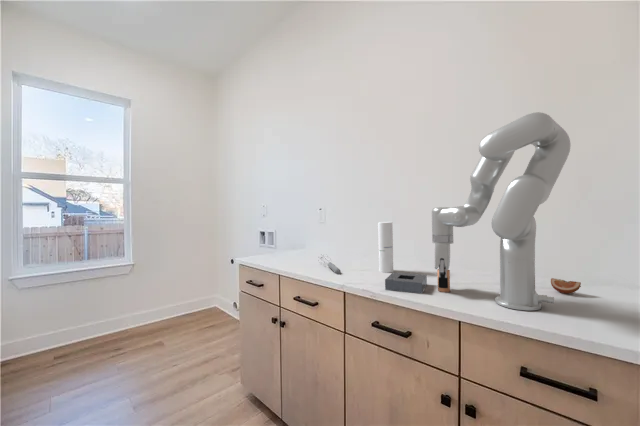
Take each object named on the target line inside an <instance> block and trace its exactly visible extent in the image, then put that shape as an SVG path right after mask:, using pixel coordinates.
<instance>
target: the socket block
mask: <svg viewBox="0 0 640 426" xmlns="http://www.w3.org/2000/svg"><path fill="white" fill-rule="evenodd" d="M427 280H428V279H427V274H421V273H409V272H396V271H395V272H394V271H393V272H391V273H390V275H389V276H387V277H386V278H385V279H384V287H385V288H384V290H385V291H395V292H403V293H404V292H405V293H412V294H413V293H415V294H423V292H424V291H425V288H426V287H427V284H428V281H427Z"/></svg>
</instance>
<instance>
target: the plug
mask: <svg viewBox="0 0 640 426" xmlns="http://www.w3.org/2000/svg"><path fill="white" fill-rule="evenodd" d="M436 270H437V273H436V274H437V291H438V292H441V293H449V292H450V293H451V275H450V273H451V272H450V271H451V270H450V269H448V270H447V278H448V288H439V278H438V277H439V268H437V269H436ZM444 272H445V271H444Z"/></svg>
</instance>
